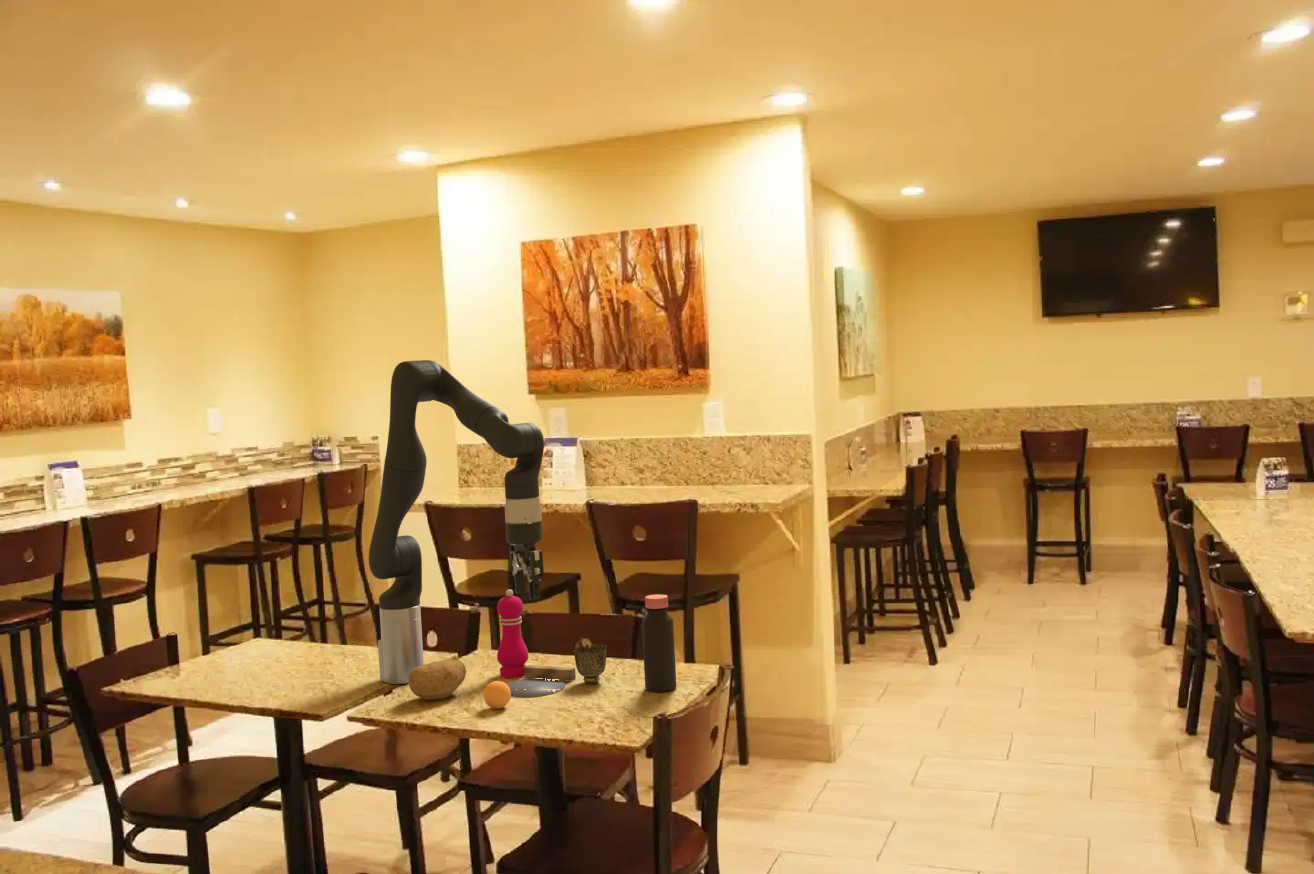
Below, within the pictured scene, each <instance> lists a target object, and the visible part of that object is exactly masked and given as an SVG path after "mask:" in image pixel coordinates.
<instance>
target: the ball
mask: <svg viewBox="0 0 1314 874" xmlns="http://www.w3.org/2000/svg"><path fill="white" fill-rule="evenodd" d="M483 700H484V702H485V704H486V705H487V706H488V707H489V708H491V709H496V710H498V709H502V708H504V707H506V706H507V705H508V704H509V703H510V700H511V691H510V688H509V687H508V685H507V683H506V682H504V681H500V680H494V681H492V682H489V684H487V686H486V687H485V689H484V691H483Z"/></svg>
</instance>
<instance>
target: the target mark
mask: <svg viewBox="0 0 1314 874" xmlns="http://www.w3.org/2000/svg"><path fill="white" fill-rule="evenodd" d="M506 684H507V683H506ZM507 685H508V687H509V688H510V691H511V696H512V698H537V697H538V696H539V697H543V695H545V696H548V695H547V694H550V695H552V694H551V693H553V694H555V693H554V692H553V691H552V690H550V692H549V691H548V690H543V689H556V691H555V692H556V693H558V692H557V691H559V690H557V689H562V690H563V688H564V689H565V687H566V684H565V683H564V681H560V680H559V681H558V680H555V681H552V679H551V680H550V681H548V680H547V679H546V681H545V679H533V680H532V679H529V678H527V679H522V680H518V681H514V682H511V683H508V684H507ZM516 689H517V690H516ZM524 689H526V690H524ZM540 689H541V690H540ZM559 692H560V691H559Z"/></svg>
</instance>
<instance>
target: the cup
mask: <svg viewBox="0 0 1314 874" xmlns="http://www.w3.org/2000/svg"><path fill="white" fill-rule="evenodd" d="M607 649H608V648H607V644H605V645H603V643H602V644H601V645H599V644H598V643H596V644H594V643H592V644H591V645H589V644H588V643H587V644H586V645H585V646H584V645H583V644H579V645H578V646H575V647H574V648H572V650H573V655H574V662H575V668H576V670H577V672H578V673H579V675H580V676H582V677H583V678H582V679H583V682H584V683H585V684H587V685H595V684H598V683H599V682H600V679H601V677H600V675H602V674H603V673H604V672H605V669H606V664H607V651H608V650H607Z"/></svg>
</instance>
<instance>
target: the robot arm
mask: <svg viewBox="0 0 1314 874" xmlns="http://www.w3.org/2000/svg"><path fill="white" fill-rule="evenodd" d="M390 380H391V382H390V397H389V399H390V403H389V425H388V434H387V444H386V445H387V446H386V452H385V456H384V457H385V458H384V463H383V471H382V478H381V479H382V482H381V490H380V497H379V503H378V509H377V515H376V519H375V523H374V528H373V533H372V535H371V536H372V537H371V540H370V544H369V545H370V546H369V551H368V566H369V569H370V572H371V574H372V576H373V577H374V578H376V579H378V580H388V579H393V578H394V582H393V583H392V585H391V586H390V587H389V588H388V589H386V590H385V591H384V592H382V593H381V594H380V595H379V598H378V607H379V622H380V624H379V625H380V636H381V637H380V639H379V640H377V650H378V651H377V653H378V654H377V655H378V669H379V681H380V682H384V683H386V684H389V685H390V684H393V685H401V684H402V685H403V684H404V685H405V684H408V679H409V675H410V672H411V671H412V670H413V669H414V668H416V667H419V666H421V665H425V664H424V663H425V662H424V649H423V648H424V647H423V646H424V643H423V629H422V615H421V613H422V611H421V595H422V591H423V562H422V561H423V559H422V558H423V557H422V551H421V546H420V545H419V542H418V541H417V539H416V538H415V537H414V536H411V535H398V534H399V531H400V528H401V525H402V522H403V520H404V519H405V517H406V516H407V514H408V513H409V511H410V510H411V508H412V506H413V505H415V502H416V501H417V500H418V498H419V496H420V494H421V492H422V490H423V488H424V483H425V479H426V477H425V476H426V472H427V471H426V470H427V460H428V459H427V456H426V455H427V454H426V452H425V448H424V446H423V444H422V441H421V439H420V436H419V434H418V432H417V428H416V419H417V418H416V416H417V409H418V404H419V403H424V402H426V403H427V402H432V401H435V402H439V403H440V404H441V403H442V404H444V405H446V406H447V407H450V408H451V409H452V410H453V412H454V413H455V414H454V415H456V418H457V420H458V421H459V422H460V424H462V426H464V427H465V428H466V429H468V430H469V431H471V432H472V433H474V434H475V435H477V436H479V437H480V438H482V439H484V441H485V442H486V444H488V445H489V446H490V447H491V448H492V450H493V451H494V452H496V454H498V455H499V456H501V457H504V458H507V459H516V461H515V466H514V467H513V468H512V469H510V470H508V471H507V472H506V473H505V474H504V495H505V496H504V498H505V504H504V505H505V506H504V517H505V518H504V520H505V535H506V538H505V539H506V542H507V544H509V545H508V556H509V557H508V558H509V562H508V563H509V571H510V573H512V576H513V577H514V578H513V579H514V592H515V594H517V595H522V594H526V592H527V584H528V599H529V600H530V601H532V602H533V601H538V600H540V599H541V584H540V582H541V581H542V580H545V572H544V556H543V555H544V554H543V550H542V549H539V550H538V549H537V546H536V545H537V543H540V542H542V541H543V539H544V537H543V518H542V517H543V514H542V513H543V512H542V505H541V500H540V485H539V475H540V471H541V467H542V462H543V457H544V449H545V439H544V435H543V432H542V430H541V428H540V427H539V426H538V425H537V424H535V423H532V422H523V423H510V422H509V421H510V420H509V418H508V416H507V414H506V412H504V411H503V410H502V409H500V408H498V407H497V406H495V405H494V404H492V403H490V402H488V401H486V400H485V399H483V398H482V397H480V396H478V395H477V394H475V393H474V392H472V391H471V390H470V389H469V388H468V387H466V386H465V385H464V384H463V383H462V382H460V380H459V379H457V378H456V377H454V375H453V374H452V373H450V372H449V371H448V370H447V369H446V368H445V367H443V366H442V365H441V364H440V363H438V362H436V361H434V360H428V359H425V360H423V359H422V360H421V359H420V360H419V359H418V360H406V361H401V362H399V363H398V364H397V365H396V366H395V367H394V370H393V372H392V375H391V379H390ZM526 578H527V581H528V583H527V581H526ZM526 583H527V584H526Z"/></svg>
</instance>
